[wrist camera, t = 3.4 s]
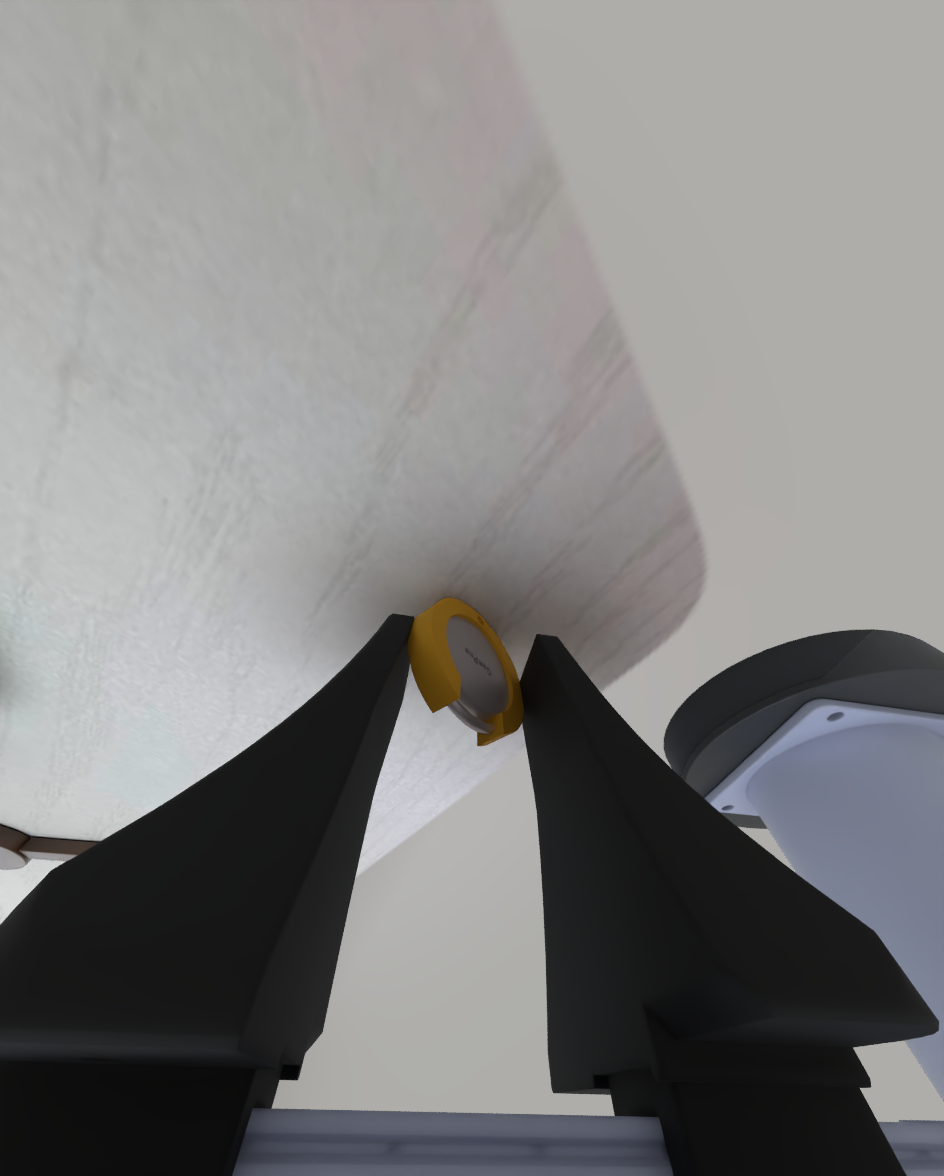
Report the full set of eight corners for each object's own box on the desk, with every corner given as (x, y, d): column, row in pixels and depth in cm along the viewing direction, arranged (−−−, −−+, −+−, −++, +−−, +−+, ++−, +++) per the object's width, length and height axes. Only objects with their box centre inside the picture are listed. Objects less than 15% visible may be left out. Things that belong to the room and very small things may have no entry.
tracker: (516, 651, 12) (532, 757, 8) (497, 661, 12) (505, 768, 9) (439, 574, 10) (422, 669, 7) (420, 588, 10) (394, 686, 7)
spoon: (273, 843, 20) (266, 859, 20) (284, 874, 23) (278, 890, 22) (-85, 813, 19) (-106, 830, 18) (-29, 850, 21) (-46, 866, 21)
